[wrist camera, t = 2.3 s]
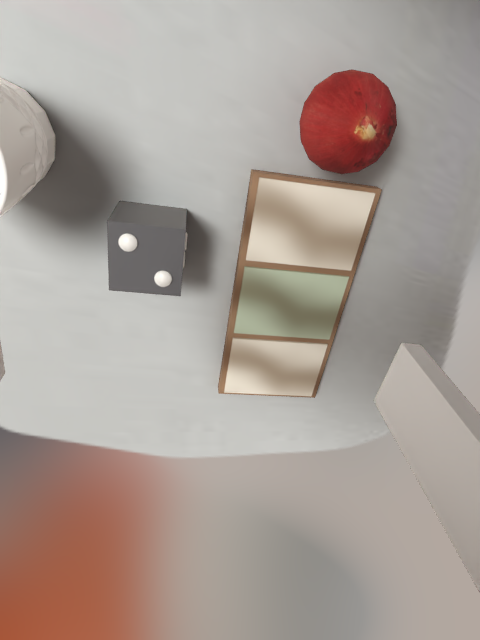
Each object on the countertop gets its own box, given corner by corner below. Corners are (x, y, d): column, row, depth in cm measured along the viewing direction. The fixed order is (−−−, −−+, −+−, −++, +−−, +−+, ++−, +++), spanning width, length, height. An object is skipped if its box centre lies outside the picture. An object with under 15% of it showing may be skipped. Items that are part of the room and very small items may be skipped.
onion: (381, 83, 27) (445, 83, 20) (352, 170, 30) (399, 196, 23) (302, 61, 26) (341, 54, 19) (279, 154, 29) (306, 176, 22)
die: (119, 200, 29) (106, 221, 25) (188, 208, 30) (188, 230, 26) (120, 262, 32) (108, 291, 27) (183, 268, 33) (182, 297, 28)
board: (251, 169, 29) (253, 172, 28) (376, 186, 31) (382, 190, 30) (218, 386, 39) (218, 394, 38) (312, 391, 41) (315, 398, 40)
